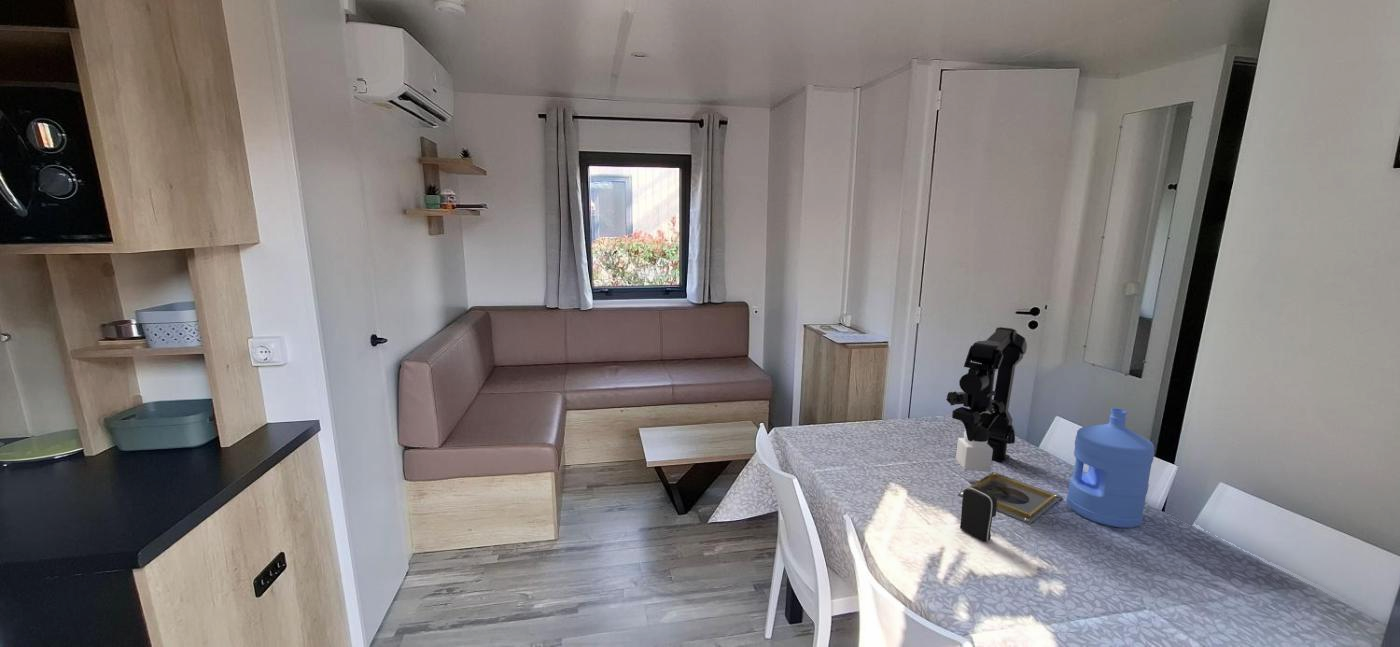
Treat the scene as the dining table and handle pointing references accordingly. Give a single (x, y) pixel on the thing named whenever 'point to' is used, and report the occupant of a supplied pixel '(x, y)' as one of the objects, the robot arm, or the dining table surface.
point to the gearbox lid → (1017, 497)
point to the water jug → (1111, 473)
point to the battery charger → (978, 512)
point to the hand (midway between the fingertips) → (975, 438)
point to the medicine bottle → (975, 452)
